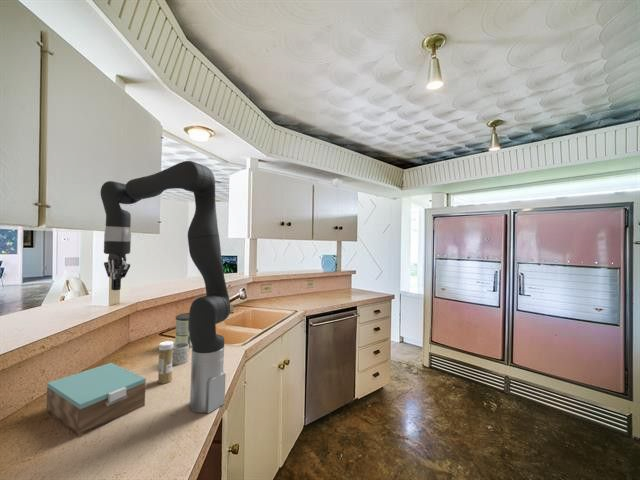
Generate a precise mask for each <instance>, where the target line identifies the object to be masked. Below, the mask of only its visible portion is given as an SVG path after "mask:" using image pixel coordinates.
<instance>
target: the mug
mask: <svg viewBox="0 0 640 480" xmlns="http://www.w3.org/2000/svg"><path fill="white" fill-rule="evenodd" d="M189 351H190V348H189V344H188V343H176V344H175V343H173V355H172V358H173V360H172V366H180V365H184V364H187V363H188V362H189Z"/></svg>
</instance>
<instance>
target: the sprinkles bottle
mask: <svg viewBox="0 0 640 480" xmlns="http://www.w3.org/2000/svg"><path fill="white" fill-rule="evenodd" d="M173 344H174V341H172V340H166V341H162V342H160V343H159V344H158V366H157V367H158V368H157V369H158V370H157V373H158V378H157V379H158V380H157V383H158V384H161V385H162V384H163V385H164V384H168V383H170V382H172V380H173V365H172V360H173V358H172V355H173Z"/></svg>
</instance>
